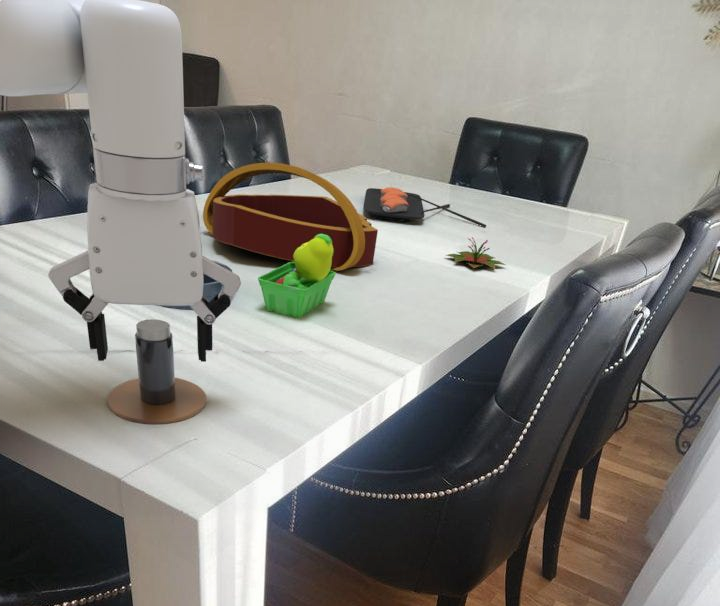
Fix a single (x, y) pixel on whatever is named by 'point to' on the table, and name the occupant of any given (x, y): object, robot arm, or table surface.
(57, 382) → the table surface
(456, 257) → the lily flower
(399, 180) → the table surface
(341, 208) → the decorative basket
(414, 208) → the sushi plate
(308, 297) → the fruit basket
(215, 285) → the bowl
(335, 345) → the table surface
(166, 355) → the salt shaker
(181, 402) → the cork coaster
